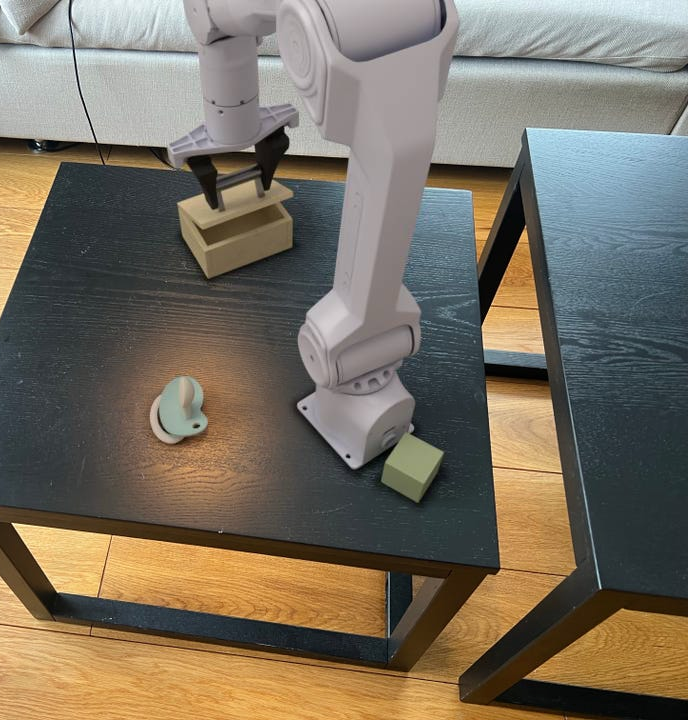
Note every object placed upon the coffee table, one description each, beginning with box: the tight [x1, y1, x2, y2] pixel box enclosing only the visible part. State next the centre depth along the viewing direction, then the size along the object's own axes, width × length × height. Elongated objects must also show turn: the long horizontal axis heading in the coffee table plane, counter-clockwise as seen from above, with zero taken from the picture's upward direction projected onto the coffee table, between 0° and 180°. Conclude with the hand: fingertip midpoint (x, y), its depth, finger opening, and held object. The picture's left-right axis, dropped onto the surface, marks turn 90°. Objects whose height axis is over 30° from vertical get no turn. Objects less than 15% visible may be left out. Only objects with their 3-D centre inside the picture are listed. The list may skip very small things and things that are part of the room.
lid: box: [176, 163, 294, 229], centre depth 88 cm, size 9×11×4 cm
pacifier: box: [149, 375, 208, 445], centre depth 77 cm, size 7×6×6 cm
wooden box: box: [177, 201, 294, 279], centre depth 93 cm, size 8×11×5 cm
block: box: [380, 432, 445, 504], centre depth 72 cm, size 4×4×4 cm
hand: (238, 194), depth 87 cm, fingers closed on lid, 6 cm apart
